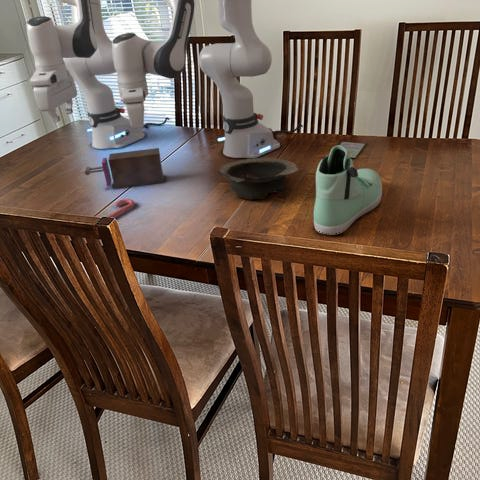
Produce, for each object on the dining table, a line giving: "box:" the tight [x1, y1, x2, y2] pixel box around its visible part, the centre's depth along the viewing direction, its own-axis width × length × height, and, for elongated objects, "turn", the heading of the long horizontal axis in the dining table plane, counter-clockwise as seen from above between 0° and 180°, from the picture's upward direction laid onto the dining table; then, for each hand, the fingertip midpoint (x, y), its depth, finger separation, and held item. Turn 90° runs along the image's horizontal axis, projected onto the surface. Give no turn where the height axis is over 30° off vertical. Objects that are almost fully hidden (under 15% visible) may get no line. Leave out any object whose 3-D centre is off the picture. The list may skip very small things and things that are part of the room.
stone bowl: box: [217, 157, 299, 201], centre depth 152 cm, size 25×25×9 cm
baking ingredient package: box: [338, 141, 366, 158], centre depth 177 cm, size 9×1×15 cm
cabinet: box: [107, 147, 165, 190], centre depth 163 cm, size 17×6×10 cm, turn 99°
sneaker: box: [313, 145, 383, 236], centre depth 133 cm, size 14×35×20 cm, turn 152°
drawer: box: [84, 157, 113, 187], centre depth 162 cm, size 22×4×8 cm, turn 99°
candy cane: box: [106, 198, 135, 218], centre depth 146 cm, size 6×15×2 cm, turn 145°
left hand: (63, 117), depth 157 cm, fingers open, 8 cm apart
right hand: (141, 133), depth 157 cm, fingers open, 8 cm apart
